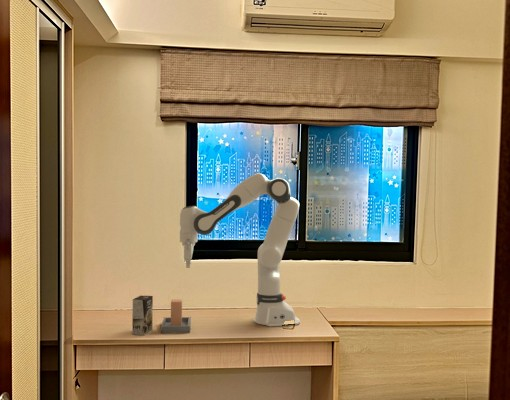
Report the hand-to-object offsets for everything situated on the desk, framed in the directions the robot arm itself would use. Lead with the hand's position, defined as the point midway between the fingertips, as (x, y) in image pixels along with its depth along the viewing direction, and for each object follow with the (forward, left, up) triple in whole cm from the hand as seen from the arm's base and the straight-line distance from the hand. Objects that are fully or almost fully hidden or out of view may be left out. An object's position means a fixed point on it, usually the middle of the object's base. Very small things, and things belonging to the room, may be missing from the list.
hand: (188, 266), depth 260 cm
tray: (+5, +14, -27) cm, 31 cm away
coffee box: (+20, +20, -27) cm, 39 cm away
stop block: (+5, +14, -26) cm, 30 cm away
